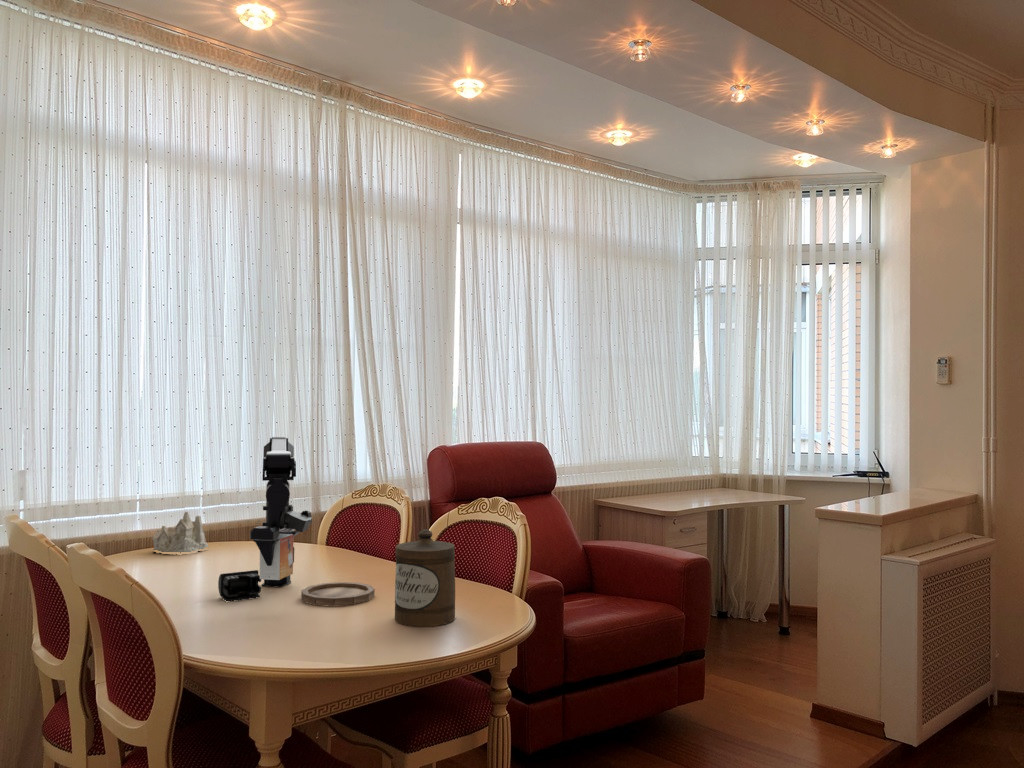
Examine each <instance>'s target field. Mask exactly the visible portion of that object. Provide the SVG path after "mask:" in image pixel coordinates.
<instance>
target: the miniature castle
mask: <svg viewBox="0 0 1024 768" xmlns="http://www.w3.org/2000/svg"><path fill="white" fill-rule="evenodd" d="M205 534H206V531H205V530H204V528H203V522H202V516H201V515H198V514H197V515H196V516H195V519H194V521H192V519H191V517H190V514H189V511H185V512H184V513H183V517H182V518H180V519H179V521H178V523H177V524H176V525H174V526H173V527H168V528H167V529H166V525H161V530H160V529H159V530H156V532H155V533H154V535H153V537H152V541H153V549H152V551H153V550H158V551H161V552H180V553H181V552H191V551H196V550H199V549H204V548H206V547H208V548H209V545H208V543H207V541H206V537H205Z"/></svg>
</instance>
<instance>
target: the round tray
mask: <svg viewBox="0 0 1024 768" xmlns="http://www.w3.org/2000/svg"><path fill="white" fill-rule="evenodd" d="M375 592H376V591H375V588H374V587H373V586H372V585H370V584H366V583H363V582H362V583H361V582H354V581H353V582H352V581H351V582H350V581H337V582H335V581H334V582H324V583H318V584H313V585H309V586H307V587H305V588H302V589H301V595H300V596H301V597H302V598H301V600H302V599H303V600H302V602H303V601H304V602H303V603H305V602H308V603H307V604H309V603H311V604H310V605H313V604H315V605H314V606H321V605H328V606H327V607H337V606H336V605H343V606H349V605H348V604H353V605H357V604H356V603H358V604H361V603H360V602H363V603H366V602H365V601H367V602H369V601H370V599H371V600H372V599H374V598H375ZM334 605H335V606H334Z"/></svg>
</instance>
